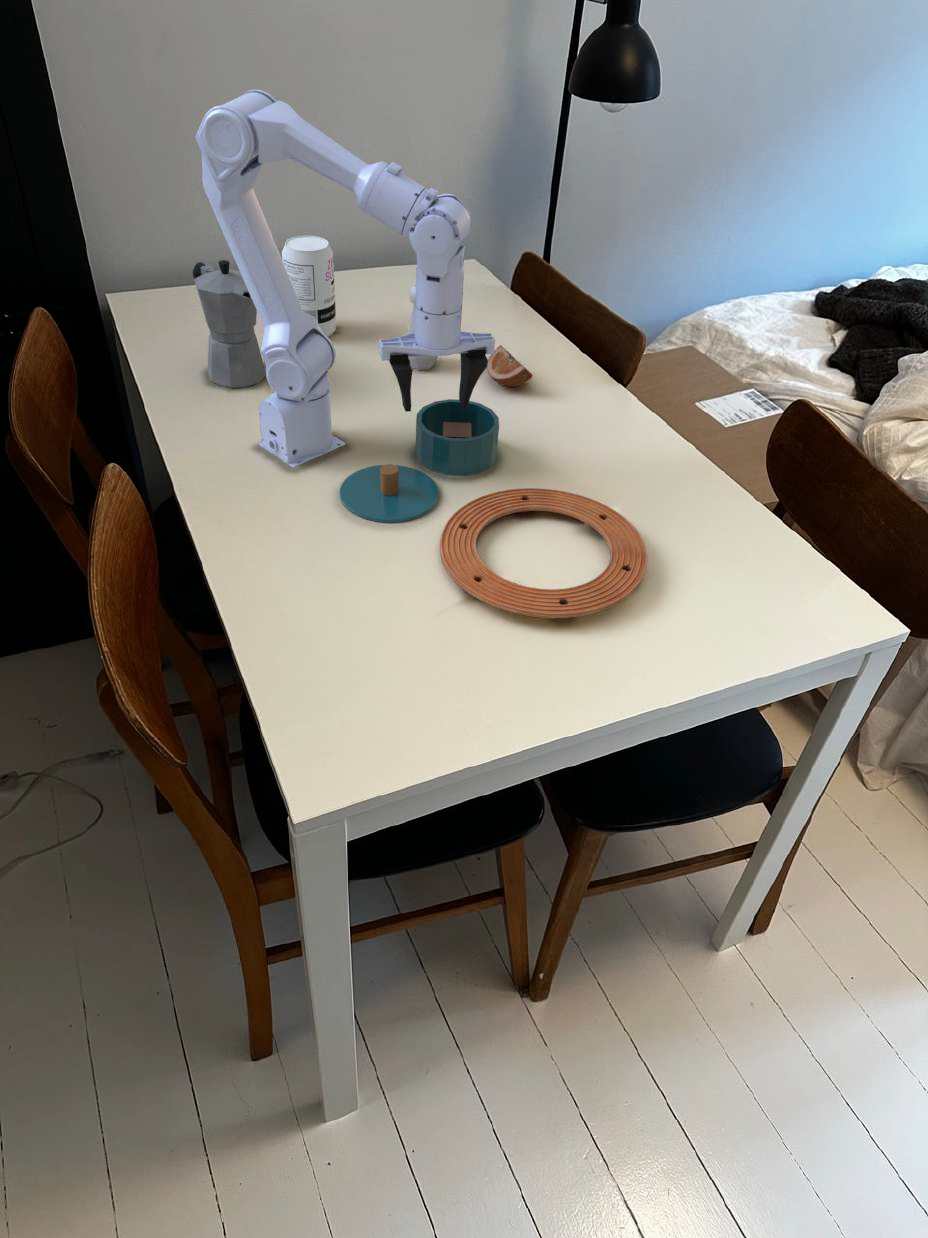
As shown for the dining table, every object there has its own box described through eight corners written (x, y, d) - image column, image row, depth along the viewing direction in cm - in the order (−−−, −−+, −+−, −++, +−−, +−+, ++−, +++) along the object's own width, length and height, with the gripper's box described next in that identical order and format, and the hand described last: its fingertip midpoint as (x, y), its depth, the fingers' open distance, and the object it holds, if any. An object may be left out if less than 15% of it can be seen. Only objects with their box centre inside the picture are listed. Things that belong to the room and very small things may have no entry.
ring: (470, 643, 103) (472, 626, 101) (418, 513, 121) (418, 498, 120) (678, 612, 109) (682, 596, 107) (598, 492, 127) (601, 477, 125)
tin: (455, 488, 126) (457, 449, 122) (398, 454, 132) (399, 416, 128) (512, 459, 132) (516, 421, 129) (455, 428, 138) (457, 391, 134)
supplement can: (282, 325, 162) (274, 236, 152) (327, 318, 165) (323, 231, 155) (296, 344, 156) (289, 254, 146) (342, 337, 159) (339, 249, 149)
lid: (385, 539, 117) (385, 509, 114) (319, 495, 123) (318, 465, 120) (458, 500, 124) (460, 471, 121) (392, 461, 130) (392, 432, 128)
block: (441, 461, 130) (442, 436, 128) (441, 446, 133) (443, 421, 131) (470, 462, 130) (471, 437, 128) (469, 447, 134) (471, 422, 131)
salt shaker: (423, 376, 150) (425, 297, 142) (396, 364, 153) (396, 286, 144) (445, 363, 154) (449, 286, 145) (419, 353, 156) (420, 276, 148)
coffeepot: (286, 381, 146) (277, 267, 134) (235, 399, 141) (220, 282, 129) (231, 347, 154) (218, 236, 142) (181, 363, 149) (162, 249, 137)
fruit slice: (539, 392, 148) (542, 363, 145) (501, 399, 146) (504, 370, 142) (514, 369, 153) (517, 341, 150) (478, 376, 151) (480, 347, 148)
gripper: (487, 289, 118) (480, 387, 127) (374, 294, 115) (375, 394, 124) (502, 312, 113) (494, 412, 122) (384, 318, 110) (385, 421, 119)
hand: (435, 405), depth 122 cm, fingers open, 7 cm apart
